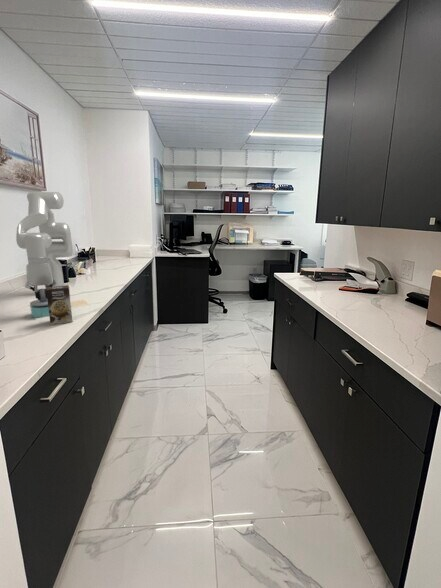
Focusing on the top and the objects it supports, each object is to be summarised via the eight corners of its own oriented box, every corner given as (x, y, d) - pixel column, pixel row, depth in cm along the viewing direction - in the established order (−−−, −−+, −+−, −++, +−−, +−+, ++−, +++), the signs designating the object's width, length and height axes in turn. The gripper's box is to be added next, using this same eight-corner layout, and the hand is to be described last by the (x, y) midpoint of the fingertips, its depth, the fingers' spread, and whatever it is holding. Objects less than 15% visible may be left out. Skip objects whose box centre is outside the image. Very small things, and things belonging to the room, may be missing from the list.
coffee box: (50, 325, 135) (45, 289, 131) (50, 321, 140) (45, 286, 136) (73, 322, 139) (68, 287, 135) (72, 318, 144) (68, 284, 140)
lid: (28, 302, 149) (26, 288, 147) (54, 298, 155) (52, 285, 154) (32, 307, 140) (29, 293, 139) (59, 303, 147) (57, 289, 145)
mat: (62, 304, 167) (62, 303, 167) (83, 300, 173) (83, 299, 173) (67, 308, 158) (66, 307, 158) (89, 305, 165) (89, 304, 165)
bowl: (30, 313, 150) (29, 304, 149) (55, 309, 157) (54, 300, 156) (34, 319, 142) (32, 309, 141) (60, 315, 148) (58, 305, 147)
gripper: (55, 258, 151) (60, 294, 155) (15, 261, 141) (22, 300, 145) (58, 260, 145) (63, 298, 149) (17, 263, 135) (24, 303, 140)
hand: (43, 298), depth 147 cm, fingers closed on lid, 3 cm apart
